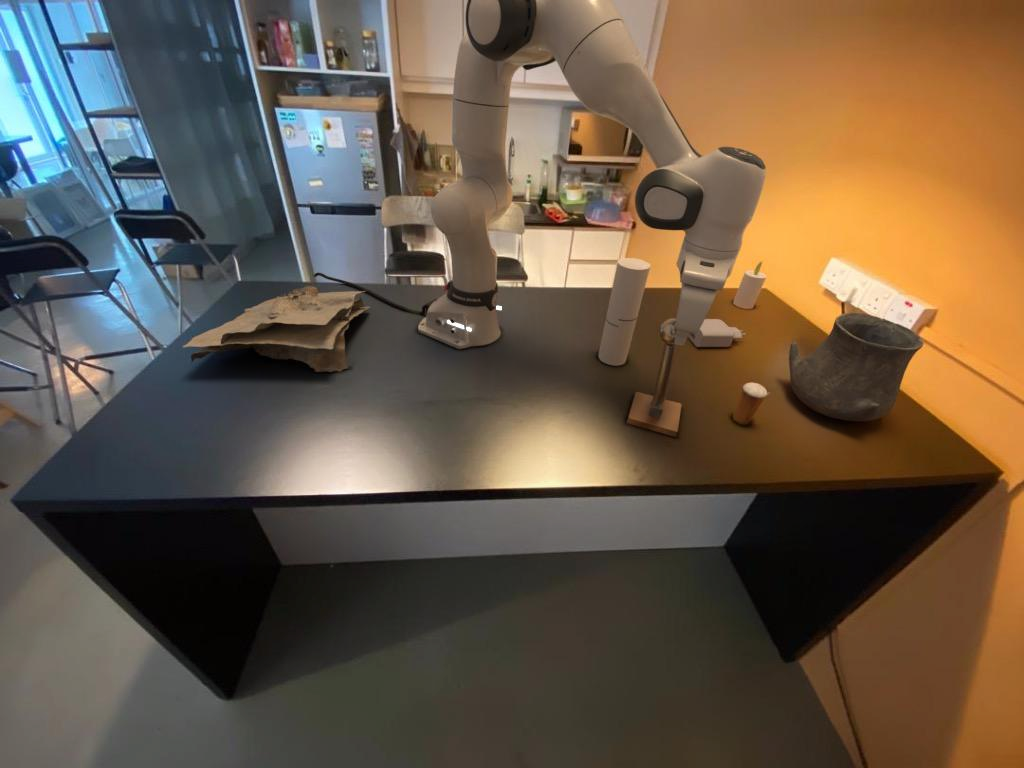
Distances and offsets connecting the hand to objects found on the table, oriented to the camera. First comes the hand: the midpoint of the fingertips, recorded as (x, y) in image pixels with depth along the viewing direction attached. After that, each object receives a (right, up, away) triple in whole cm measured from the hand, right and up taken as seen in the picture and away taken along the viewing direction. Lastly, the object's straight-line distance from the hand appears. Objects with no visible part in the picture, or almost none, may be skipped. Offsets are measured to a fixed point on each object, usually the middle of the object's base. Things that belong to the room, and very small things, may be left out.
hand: (681, 331), depth 79 cm
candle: (+45, +16, +61) cm, 78 cm away
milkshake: (+18, -18, +13) cm, 29 cm away
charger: (+26, +2, +41) cm, 48 cm away
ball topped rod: (-3, -6, +6) cm, 9 cm away
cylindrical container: (-6, -3, +30) cm, 31 cm away
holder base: (-1, -17, +12) cm, 21 cm away
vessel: (+43, -15, +19) cm, 49 cm away
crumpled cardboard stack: (-86, +1, +28) cm, 91 cm away
